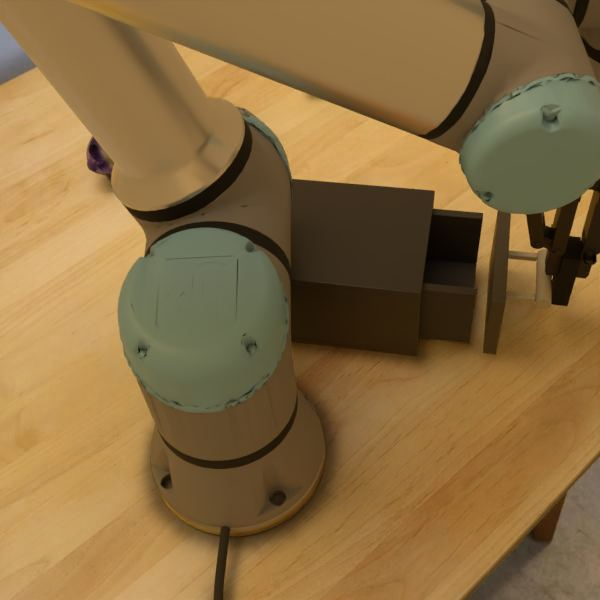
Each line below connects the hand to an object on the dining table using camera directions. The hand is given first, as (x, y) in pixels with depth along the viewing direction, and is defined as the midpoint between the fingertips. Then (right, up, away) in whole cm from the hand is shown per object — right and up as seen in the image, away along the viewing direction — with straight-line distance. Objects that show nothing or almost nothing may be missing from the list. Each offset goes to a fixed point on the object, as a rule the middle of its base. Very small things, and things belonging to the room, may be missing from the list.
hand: (559, 294), depth 79 cm
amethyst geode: (-44, +15, +21) cm, 51 cm away
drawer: (-9, -1, +4) cm, 10 cm away
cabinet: (-19, 0, +6) cm, 20 cm away
